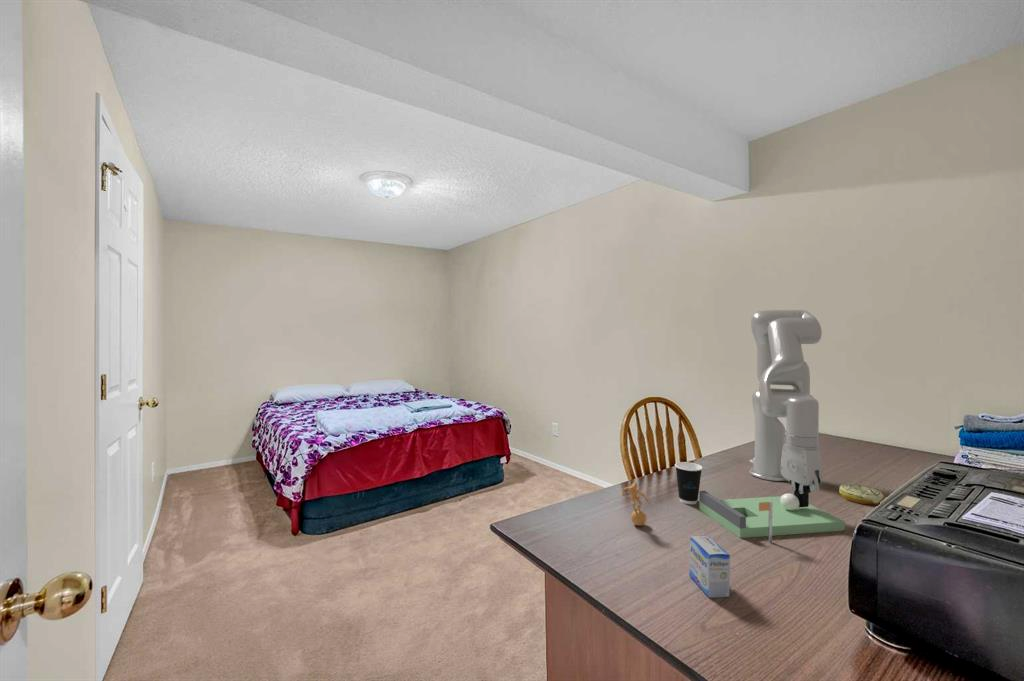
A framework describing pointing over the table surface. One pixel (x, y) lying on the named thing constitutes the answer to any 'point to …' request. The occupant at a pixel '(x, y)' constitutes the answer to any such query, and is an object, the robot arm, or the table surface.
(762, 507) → the flag pin
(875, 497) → the decorated donut
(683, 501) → the dixie cup
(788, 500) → the ball
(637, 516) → the figurine
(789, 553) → the table surface
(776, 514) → the mat
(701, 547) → the medicine box
